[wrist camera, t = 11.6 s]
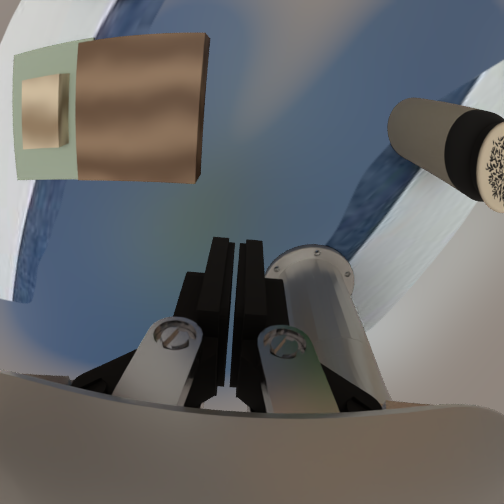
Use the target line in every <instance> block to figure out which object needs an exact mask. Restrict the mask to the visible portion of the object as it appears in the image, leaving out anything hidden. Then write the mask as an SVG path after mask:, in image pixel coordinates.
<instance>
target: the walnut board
mask: <svg viewBox="0 0 504 504" xmlns="http://www.w3.org/2000/svg"><path fill="white" fill-rule="evenodd" d="M209 46H210V38H209V37H208V35H207V34H206V33H163V34H146V35H133V36H123V37H114V38H107V39H99V40H93V41H86V42H80V43H78V54H77V69H76V98H75V125H76V154H77V171H78V180H108V181H110V180H111V181H143V182H146V181H147V182H168V183H186V184H195V183H196V181H197V179H198V178H199V176H200V174H201V155H202V137H203V121H204V120H203V119H204V105H205V92H206V80H207V67H208V57H209Z"/></svg>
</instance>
